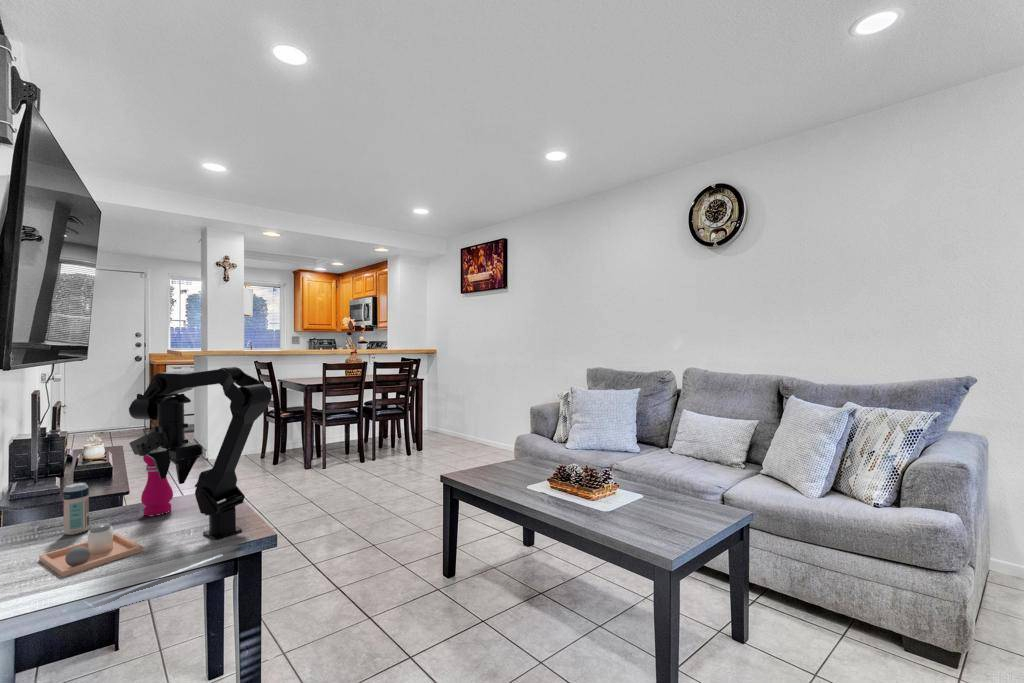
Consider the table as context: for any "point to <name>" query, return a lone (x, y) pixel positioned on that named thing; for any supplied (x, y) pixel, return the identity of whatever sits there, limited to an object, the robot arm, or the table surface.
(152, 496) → the pepper mill
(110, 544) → the cylinder
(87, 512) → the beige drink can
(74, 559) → the mixing ball
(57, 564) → the tray
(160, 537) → the table surface
